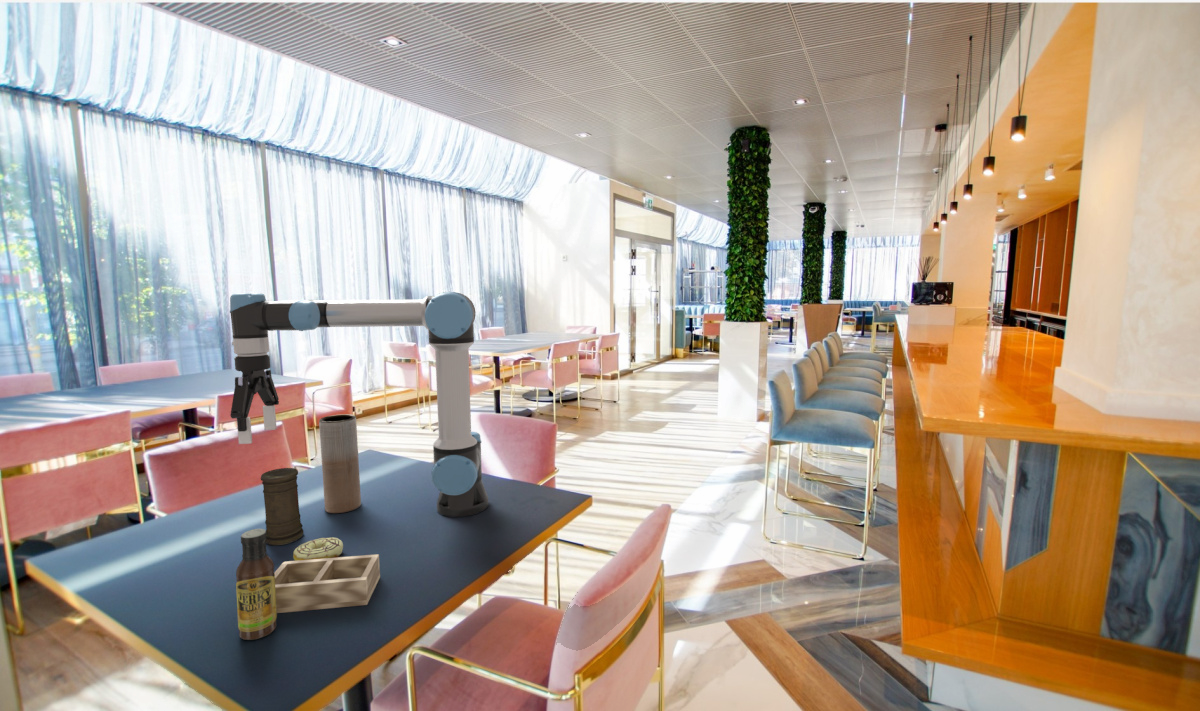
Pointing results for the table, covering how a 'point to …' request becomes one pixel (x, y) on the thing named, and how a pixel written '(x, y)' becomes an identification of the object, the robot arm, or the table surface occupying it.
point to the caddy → (326, 583)
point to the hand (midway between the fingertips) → (258, 436)
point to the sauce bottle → (255, 588)
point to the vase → (340, 463)
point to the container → (281, 506)
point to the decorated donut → (319, 549)
